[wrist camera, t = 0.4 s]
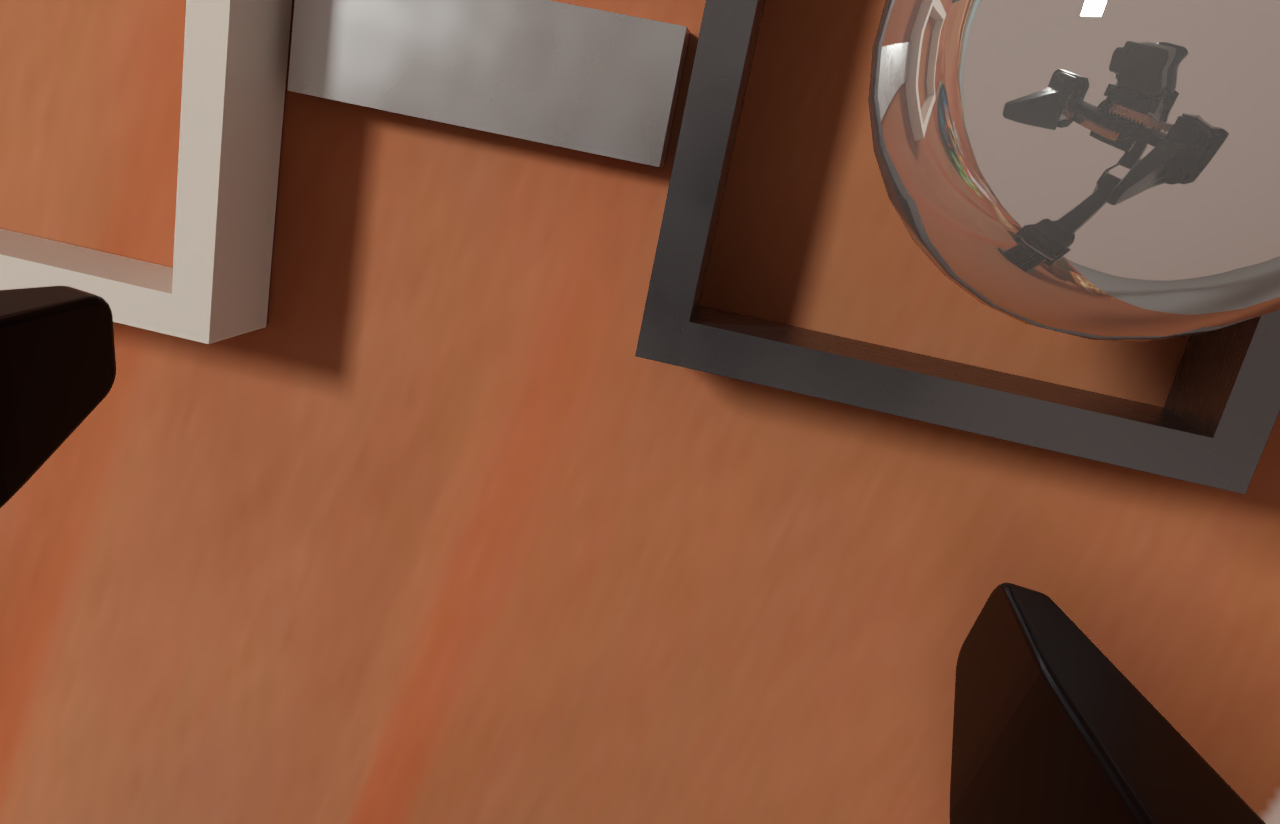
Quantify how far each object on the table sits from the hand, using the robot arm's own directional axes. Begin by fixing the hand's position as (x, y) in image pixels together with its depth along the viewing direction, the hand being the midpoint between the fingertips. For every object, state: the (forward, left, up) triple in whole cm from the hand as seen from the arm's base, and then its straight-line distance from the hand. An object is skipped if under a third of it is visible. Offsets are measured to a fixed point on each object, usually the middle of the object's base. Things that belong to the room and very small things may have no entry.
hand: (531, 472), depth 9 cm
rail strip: (+4, +6, -14) cm, 15 cm away
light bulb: (+5, -6, -14) cm, 16 cm away
